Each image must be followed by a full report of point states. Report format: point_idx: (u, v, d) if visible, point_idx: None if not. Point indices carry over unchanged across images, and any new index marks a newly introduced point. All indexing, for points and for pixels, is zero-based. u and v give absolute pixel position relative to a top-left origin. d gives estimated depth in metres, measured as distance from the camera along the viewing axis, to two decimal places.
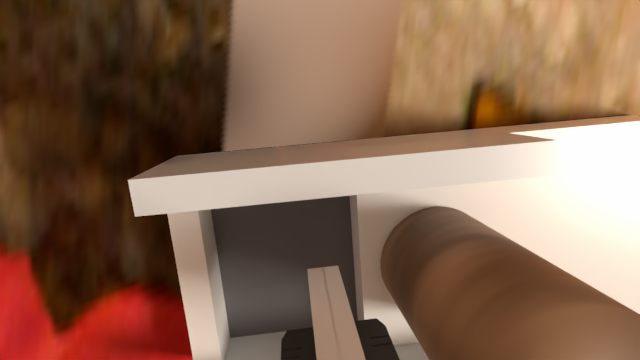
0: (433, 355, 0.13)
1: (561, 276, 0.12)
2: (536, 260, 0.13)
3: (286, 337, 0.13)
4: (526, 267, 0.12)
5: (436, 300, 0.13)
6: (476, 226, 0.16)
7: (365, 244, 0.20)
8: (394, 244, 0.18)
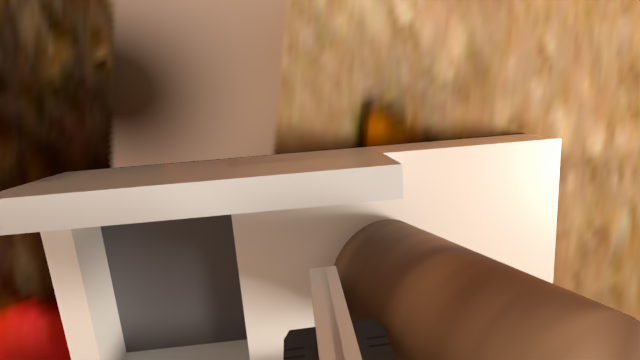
0: None
1: (548, 284, 0.12)
2: (514, 269, 0.13)
3: (288, 337, 0.13)
4: (515, 278, 0.12)
5: (425, 321, 0.12)
6: (437, 238, 0.16)
7: (242, 263, 0.20)
8: (349, 262, 0.17)
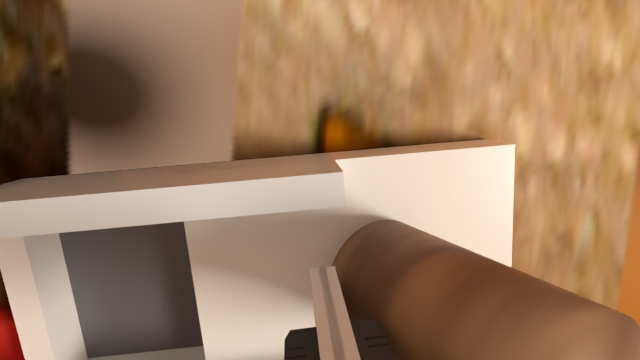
0: None
1: (545, 283, 0.12)
2: (511, 269, 0.13)
3: (289, 337, 0.13)
4: (512, 277, 0.12)
5: (423, 320, 0.12)
6: (434, 238, 0.16)
7: (196, 269, 0.20)
8: (348, 261, 0.17)
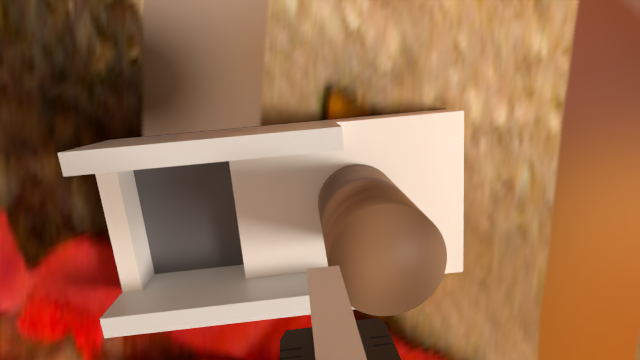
0: (324, 242, 0.22)
1: (395, 196, 0.20)
2: (391, 190, 0.21)
3: (285, 337, 0.13)
4: (379, 191, 0.20)
5: (330, 210, 0.22)
6: (374, 174, 0.24)
7: (238, 202, 0.28)
8: (325, 185, 0.27)
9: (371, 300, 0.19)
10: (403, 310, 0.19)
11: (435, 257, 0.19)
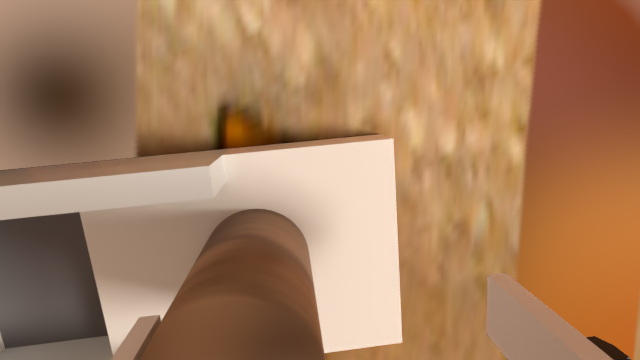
0: None
1: (259, 274, 0.13)
2: (263, 260, 0.14)
3: None
4: (240, 264, 0.14)
5: None
6: (263, 228, 0.18)
7: (96, 260, 0.21)
8: None
9: None
10: None
11: None
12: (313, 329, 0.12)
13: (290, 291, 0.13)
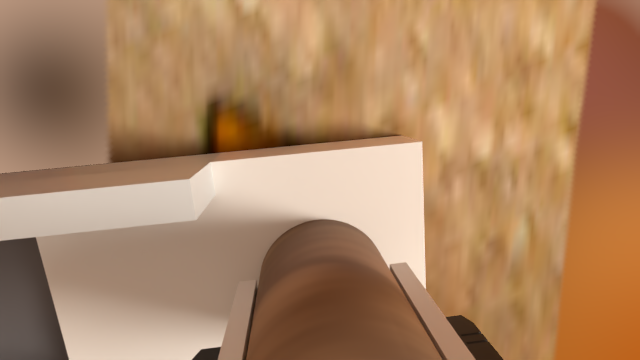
0: None
1: (379, 321, 0.09)
2: (371, 297, 0.11)
3: (197, 357, 0.12)
4: (346, 306, 0.10)
5: (256, 332, 0.11)
6: (345, 247, 0.14)
7: (56, 291, 0.17)
8: (268, 257, 0.16)
9: None
10: None
11: None
12: None
13: (424, 346, 0.09)
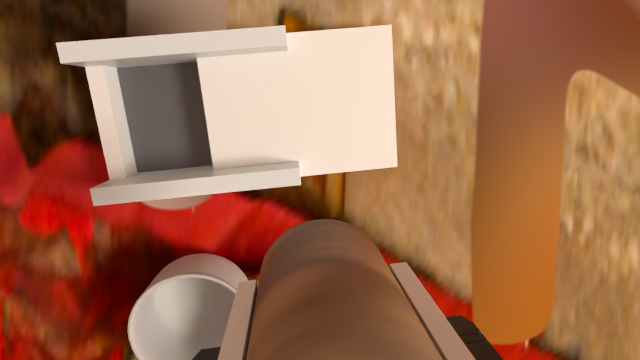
0: None
1: (379, 321, 0.09)
2: (371, 297, 0.11)
3: (197, 357, 0.12)
4: (347, 306, 0.10)
5: (256, 331, 0.11)
6: (345, 247, 0.14)
7: (206, 101, 0.33)
8: (268, 257, 0.16)
9: None
10: None
11: None
12: None
13: (424, 346, 0.09)
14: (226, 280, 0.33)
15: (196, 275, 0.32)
